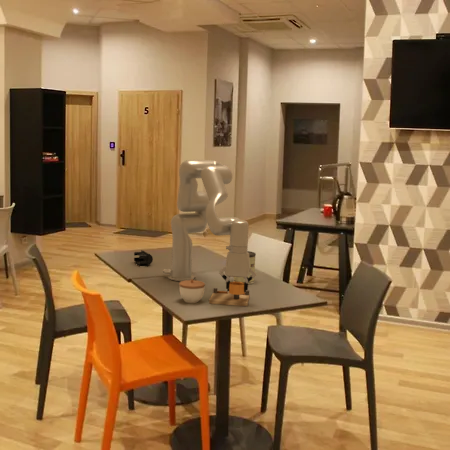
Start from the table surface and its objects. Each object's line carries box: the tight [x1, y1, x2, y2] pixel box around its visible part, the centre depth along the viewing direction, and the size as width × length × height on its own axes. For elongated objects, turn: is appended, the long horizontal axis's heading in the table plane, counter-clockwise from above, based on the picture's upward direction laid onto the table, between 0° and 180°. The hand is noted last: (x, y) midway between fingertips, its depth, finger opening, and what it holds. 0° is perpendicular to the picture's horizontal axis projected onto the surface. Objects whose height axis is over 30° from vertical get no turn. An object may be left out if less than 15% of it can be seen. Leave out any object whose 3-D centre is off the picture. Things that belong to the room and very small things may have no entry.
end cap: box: [133, 249, 154, 267], centre depth 335 cm, size 10×7×7 cm
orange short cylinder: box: [228, 281, 245, 295], centre depth 269 cm, size 6×6×4 cm
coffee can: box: [232, 250, 256, 285], centre depth 306 cm, size 10×10×14 cm
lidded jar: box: [178, 279, 206, 304], centre depth 269 cm, size 11×11×9 cm
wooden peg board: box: [208, 287, 251, 307], centre depth 272 cm, size 16×14×6 cm
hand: (236, 290), depth 269 cm, fingers closed on orange short cylinder, 6 cm apart
